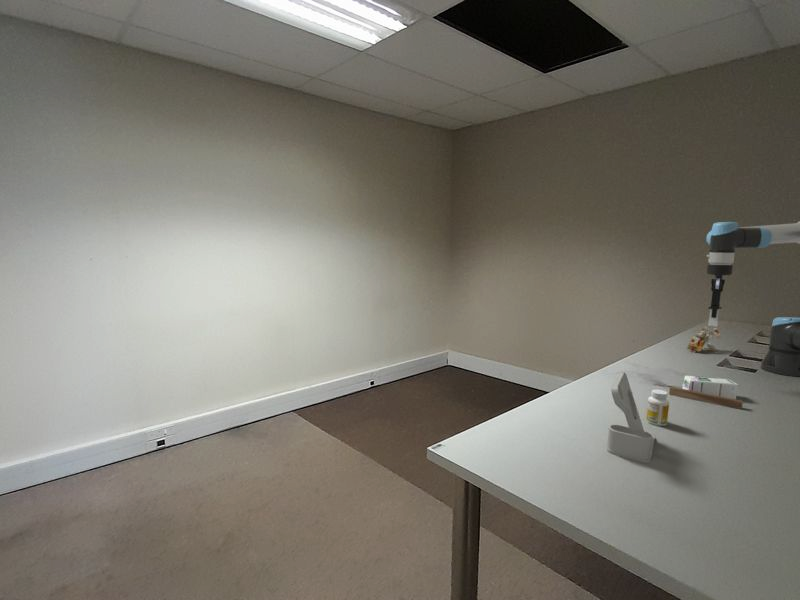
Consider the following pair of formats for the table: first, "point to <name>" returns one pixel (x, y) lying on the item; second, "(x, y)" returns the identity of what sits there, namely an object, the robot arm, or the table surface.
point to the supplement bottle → (658, 408)
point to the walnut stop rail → (706, 397)
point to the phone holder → (634, 438)
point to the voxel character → (702, 340)
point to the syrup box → (711, 386)
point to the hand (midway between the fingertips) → (712, 325)
